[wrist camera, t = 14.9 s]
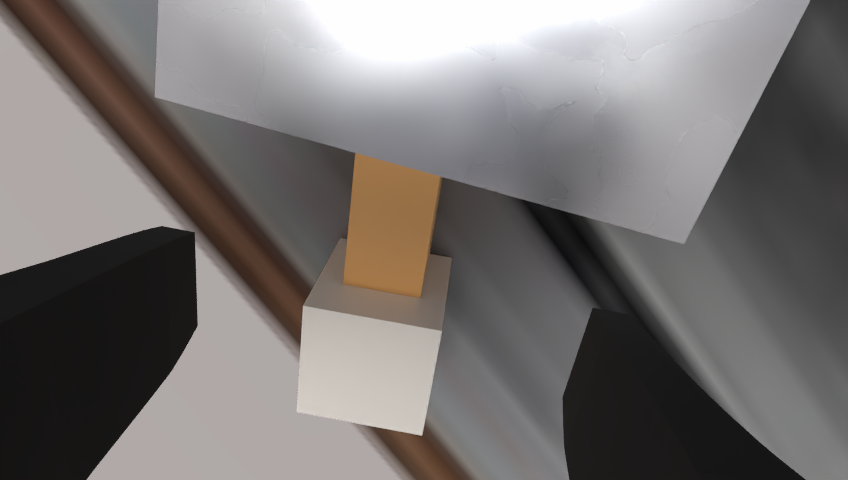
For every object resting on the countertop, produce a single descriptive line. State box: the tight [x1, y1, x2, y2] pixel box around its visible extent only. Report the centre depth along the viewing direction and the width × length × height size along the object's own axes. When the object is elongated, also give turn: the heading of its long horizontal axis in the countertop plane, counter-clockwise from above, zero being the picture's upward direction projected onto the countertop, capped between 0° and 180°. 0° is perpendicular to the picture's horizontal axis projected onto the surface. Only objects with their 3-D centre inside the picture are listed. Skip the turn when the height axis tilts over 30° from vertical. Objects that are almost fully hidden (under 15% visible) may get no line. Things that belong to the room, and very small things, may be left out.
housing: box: [155, 0, 810, 244], centre depth 14 cm, size 12×5×6 cm, turn 76°
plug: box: [297, 153, 452, 436], centre depth 17 cm, size 4×17×4 cm, turn 172°
